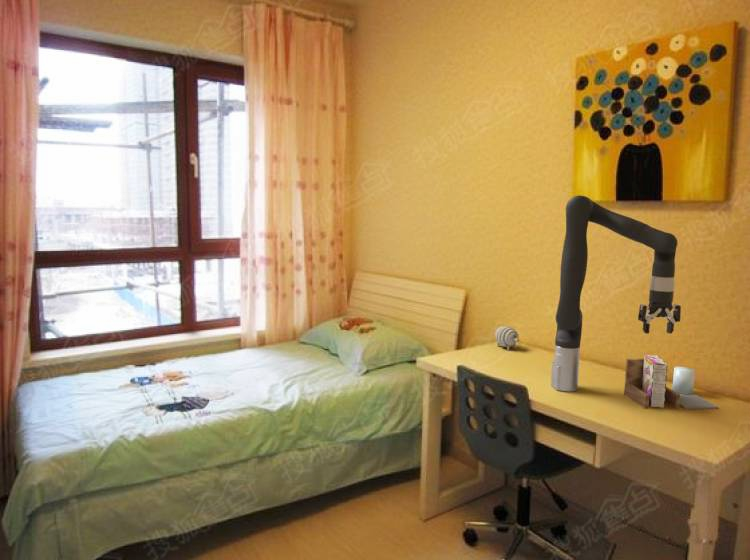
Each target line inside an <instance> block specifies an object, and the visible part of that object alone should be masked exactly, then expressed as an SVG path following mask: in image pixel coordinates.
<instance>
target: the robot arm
mask: <svg viewBox="0 0 750 560" xmlns="http://www.w3.org/2000/svg"><path fill="white" fill-rule="evenodd" d="M589 223H594V224H596V225H600V226H602V227H604V228H606V229H608V230H610V231H612V232H614V233H616V234H618V235H620V236H621V237H625V238H627V239H629V240H631V241H634V242H636V243H638V244H642V245H644V246H646V247H648V248H650V249H652V250H654V251H653V256H654V258H653V263H652V270H651V278H650V281H649V282H650V283H649V292H648V293H649V295H648V301H649V302H648V304H647V305H645V304H643V303H642V304H640V305H639V311H638V317H637V320H638V321H639V322H642V332H643V333H644V334H647V335H648V334H650V328H651V327H650V326H651V322H652V321H653V320H654V319H655V318H665V319H666V320H667V324H666V333H667V334H670V335H671V334H673V332H674V328H675V324H676V323H677V322H678V323H679V322H681V316H682V315H681V311H682V310H681V309H682V307H681V305H679V304H676V303H675V304H673V302H674V292H675V271H676V263H675V262H676V261H675V260H676V254H677V253H676V252H677V247H678V240H677V237H676V236H675V235H674V234H672V233H671V232H666V231H663V230H661V229H657V228H655V227H652V226H651V225H649V224H647V223H644V222H642V221H640V220H638V219H635V218H632V217H629V216H627V215H623V214H620V213H617V212H614V211H613V210H609V209H608V208H605V207H603V206H601V205H600V204H598V203H596V202H595V201H593V200H592V199H591V198H590V197H588V196H585V195H574V196H573V197H571V198H570V199H569V200H568V201H567V203H566V206H565V237H564V241H563V247H562V253H561V260H560V261H561V263H560V275H559V276H560V278H559V282H560V283H559V287H560V289H559V299H558V303H557V308H556V309H557V310H556V313H555V322H556V334H555V339H554V356H553V357H554V358H553V359H554V361H553V362H551V377H550V379H551V380H550V386H551V387H552V388H553V389H555V390H556V391H562V392H575V391H577V390H578V387H579V386H578V385H579V370H580V355H581V353H580V351H581V341H582V329H583V312H582V310H581V296H582V290H583V288H584V283H585V280H586V275H587V267H588V259H589V256H588V255H589V254H588V253H589V252H588V241H587V239H588V238H587V236H588V235H587V234H588V233H587V231H588V227H589ZM671 311H672V313H671Z"/></svg>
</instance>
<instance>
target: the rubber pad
mask: <svg viewBox="0 0 750 560" xmlns="http://www.w3.org/2000/svg"><path fill="white" fill-rule="evenodd" d="M679 407H681V408H683V409H684V410H714V409H715V410H718V409H719V406H718V405H715V404H714V403H711V402H710V401H709V400H706V399H705V398H702V397H701V396H699V395H697V394H692V395H682V394H680V401H679Z"/></svg>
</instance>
